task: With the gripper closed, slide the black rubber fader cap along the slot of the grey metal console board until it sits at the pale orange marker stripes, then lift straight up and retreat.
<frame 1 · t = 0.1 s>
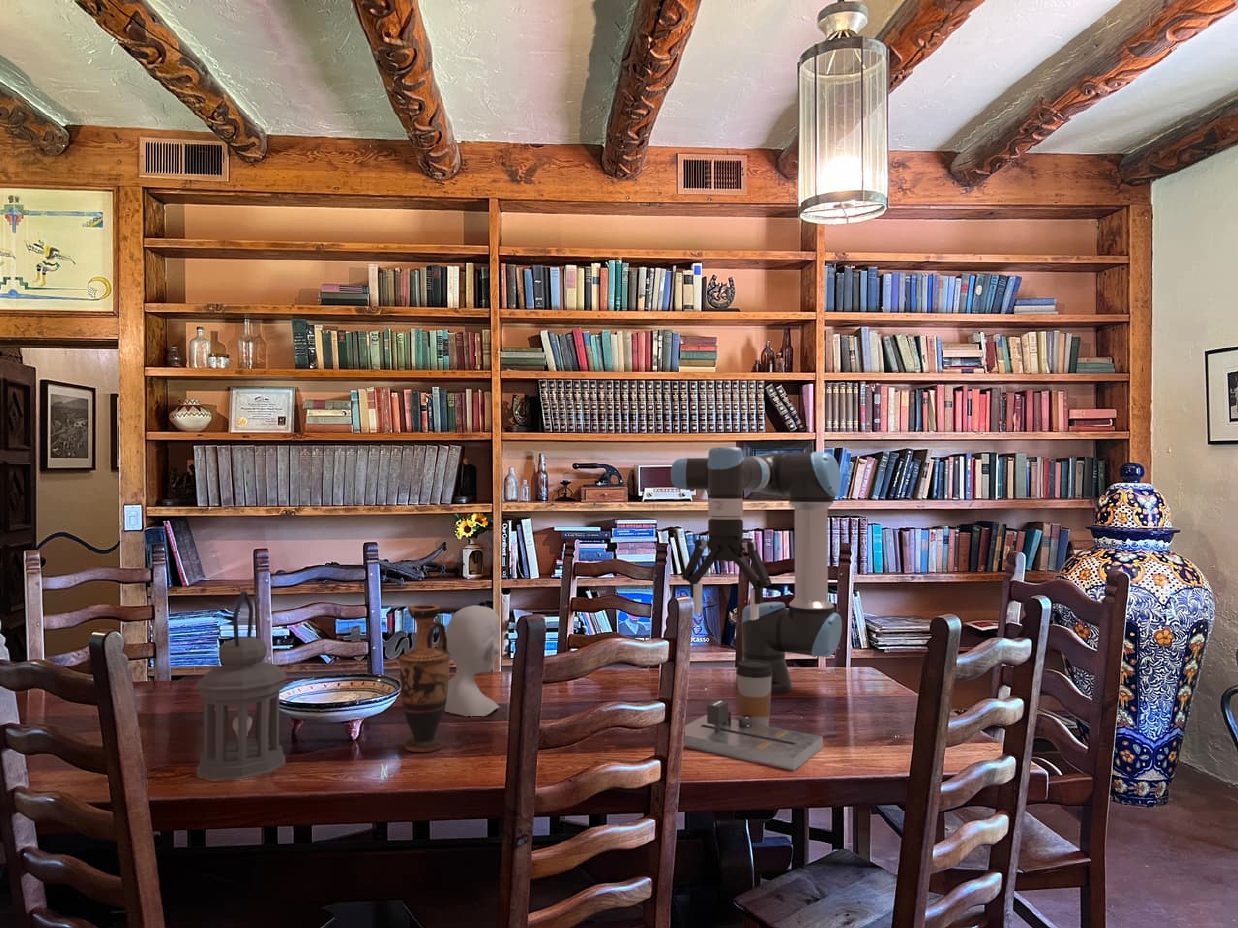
hand: (725, 616, 173), 28 cm above the table, fingers open, 13 cm apart
head bust: (472, 704, 205), on the table
lantern: (241, 767, 160), on the table
console: (746, 745, 173), on the table
fader: (717, 718, 177), point 5 cm above the table, slide at -7.0 cm
coffee cup: (754, 729, 184), on the table
vase: (424, 747, 172), on the table
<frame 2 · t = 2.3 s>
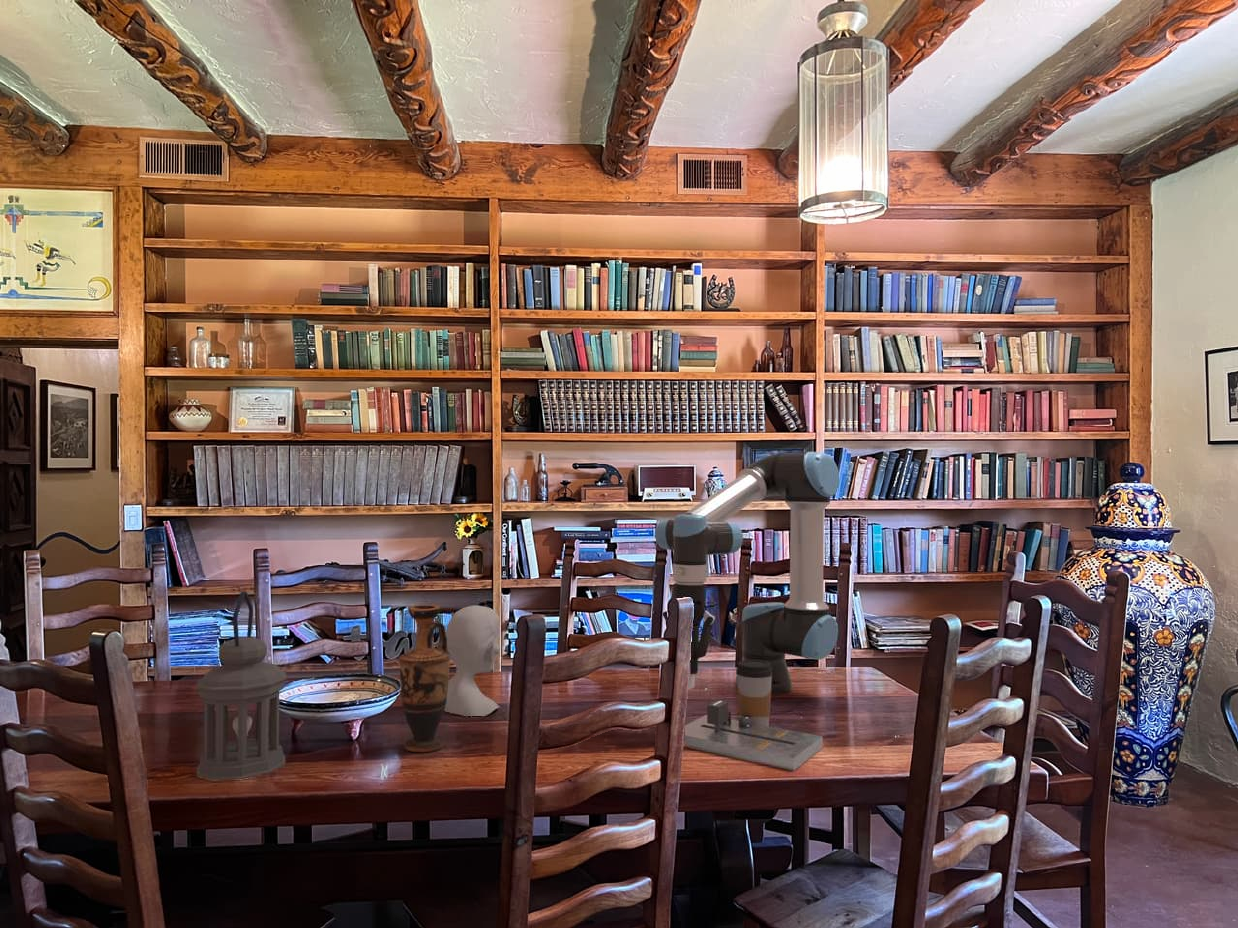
hand: (688, 687, 180), 11 cm above the table, fingers closed
nothing on the table moved.
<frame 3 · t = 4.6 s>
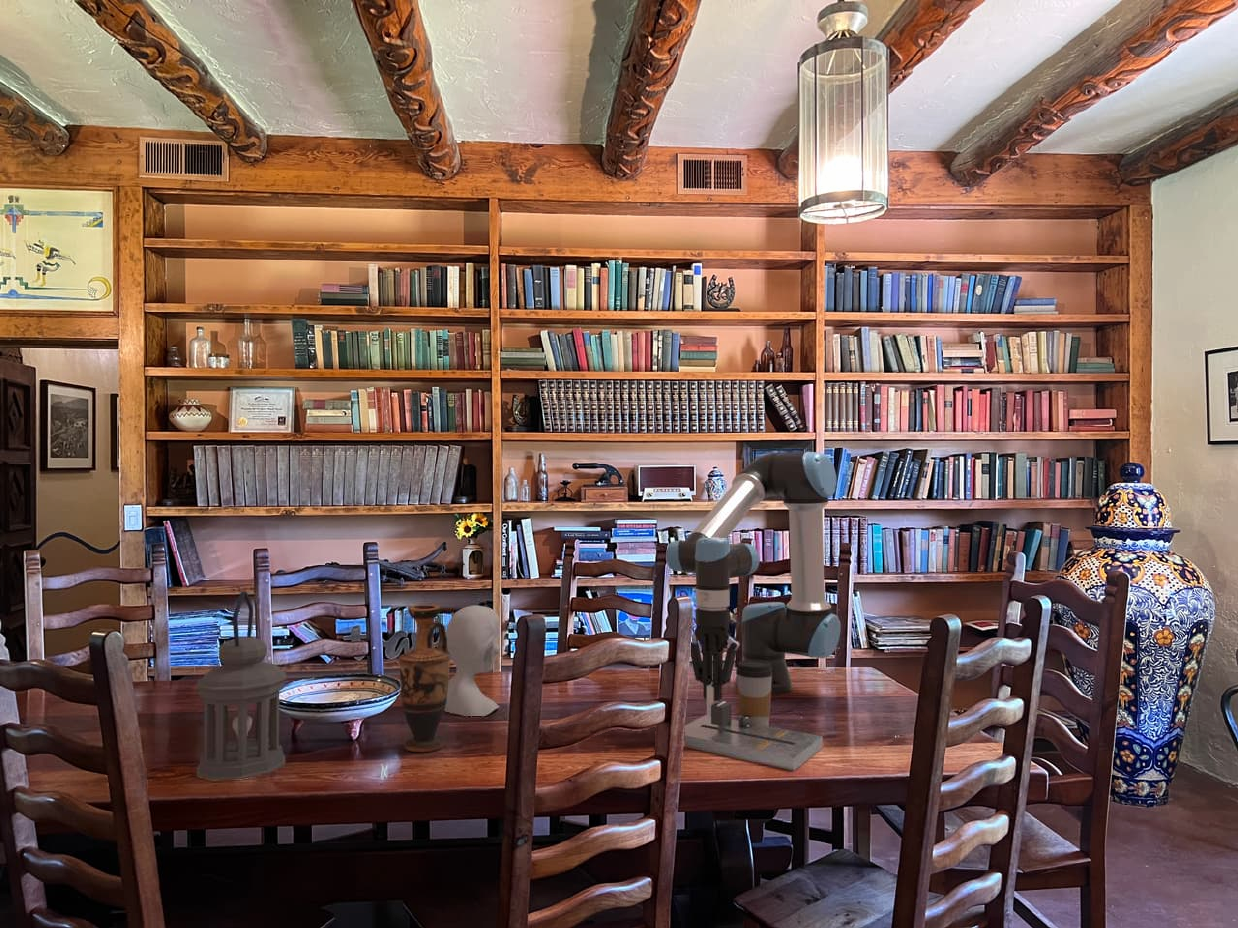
hand: (712, 714, 177), 5 cm above the table, fingers closed
fader: (721, 719, 176), point 5 cm above the table, slide at -6.1 cm, touching gripper
everything else where it was.
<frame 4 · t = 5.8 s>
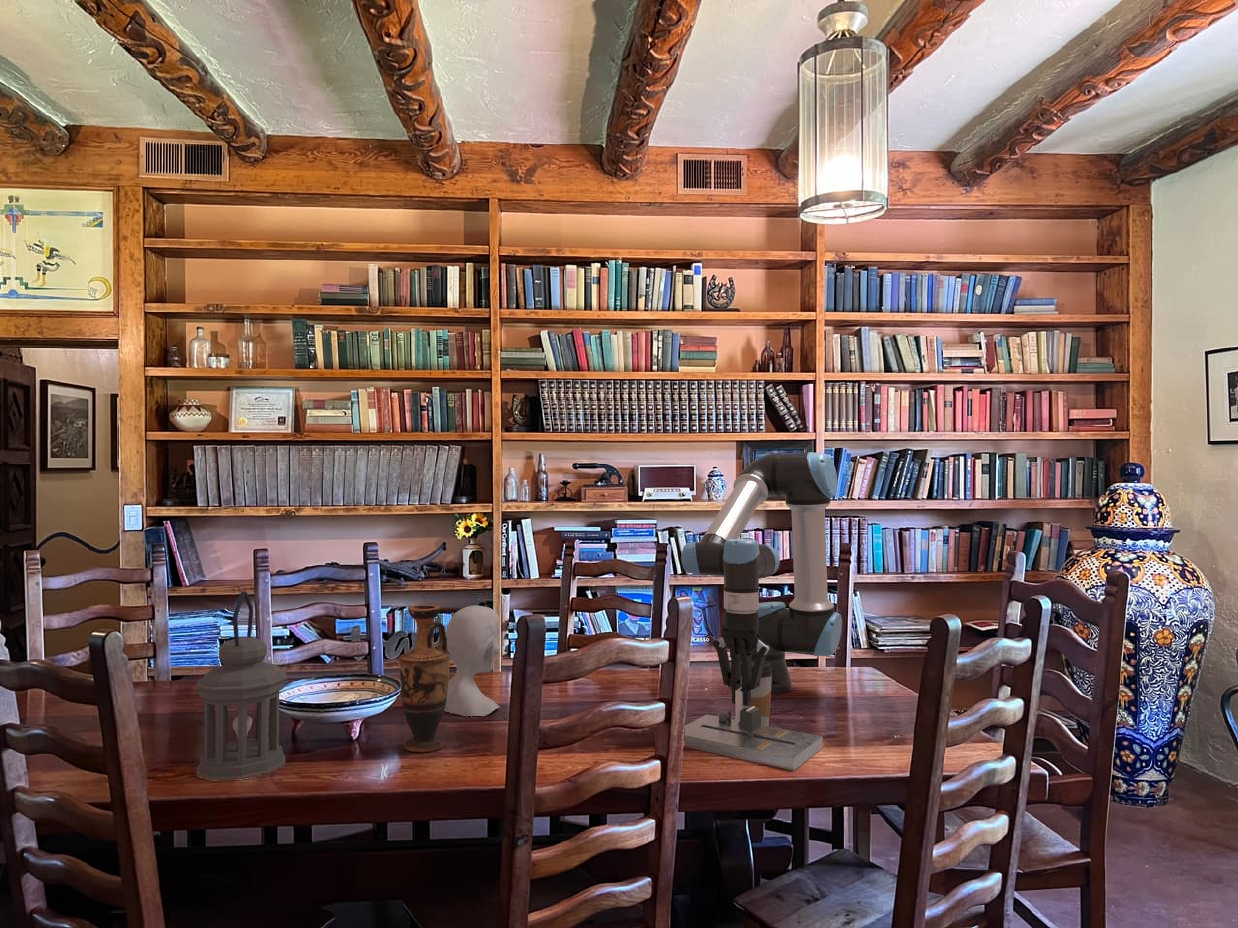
hand: (741, 719, 173), 5 cm above the table, fingers closed
fader: (750, 725, 172), point 5 cm above the table, slide at 0.9 cm, touching gripper
everything else where it was.
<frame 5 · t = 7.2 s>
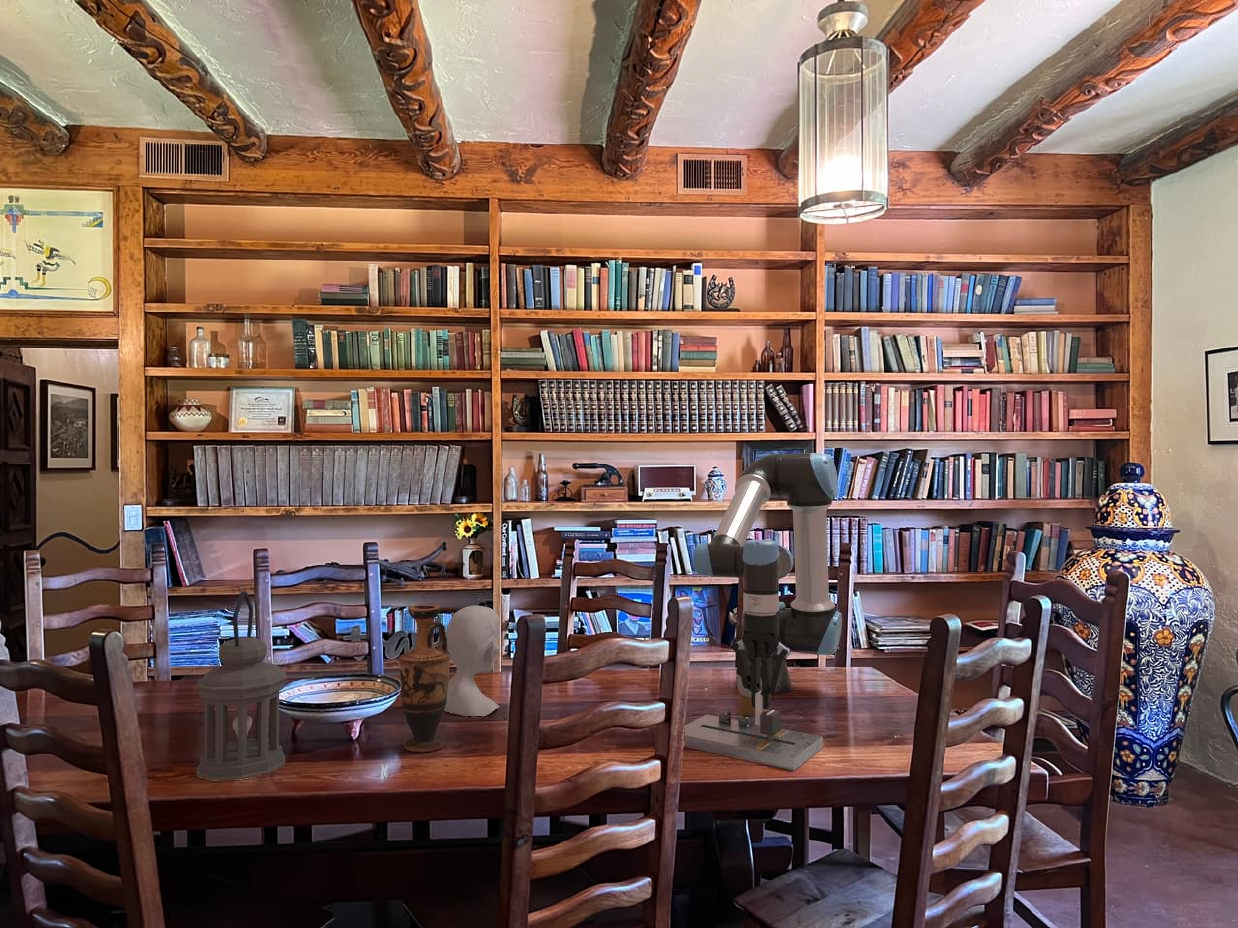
hand: (761, 723, 171), 5 cm above the table, fingers closed
fader: (770, 729, 169), point 5 cm above the table, slide at 5.6 cm, touching gripper
everything else where it was.
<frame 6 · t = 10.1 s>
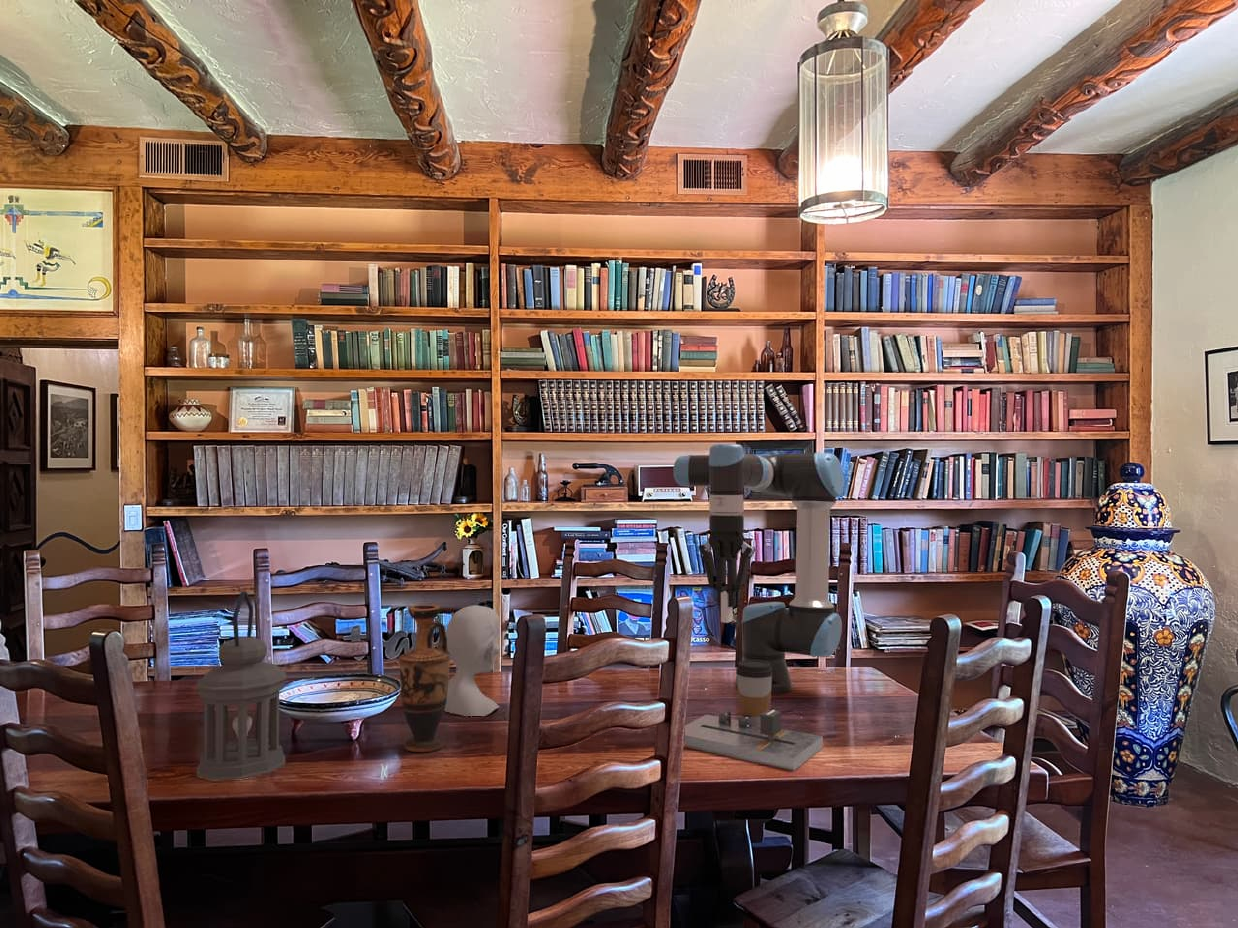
hand: (726, 621, 176), 26 cm above the table, fingers closed
fader: (770, 729, 169), point 5 cm above the table, slide at 5.6 cm
everything else where it was.
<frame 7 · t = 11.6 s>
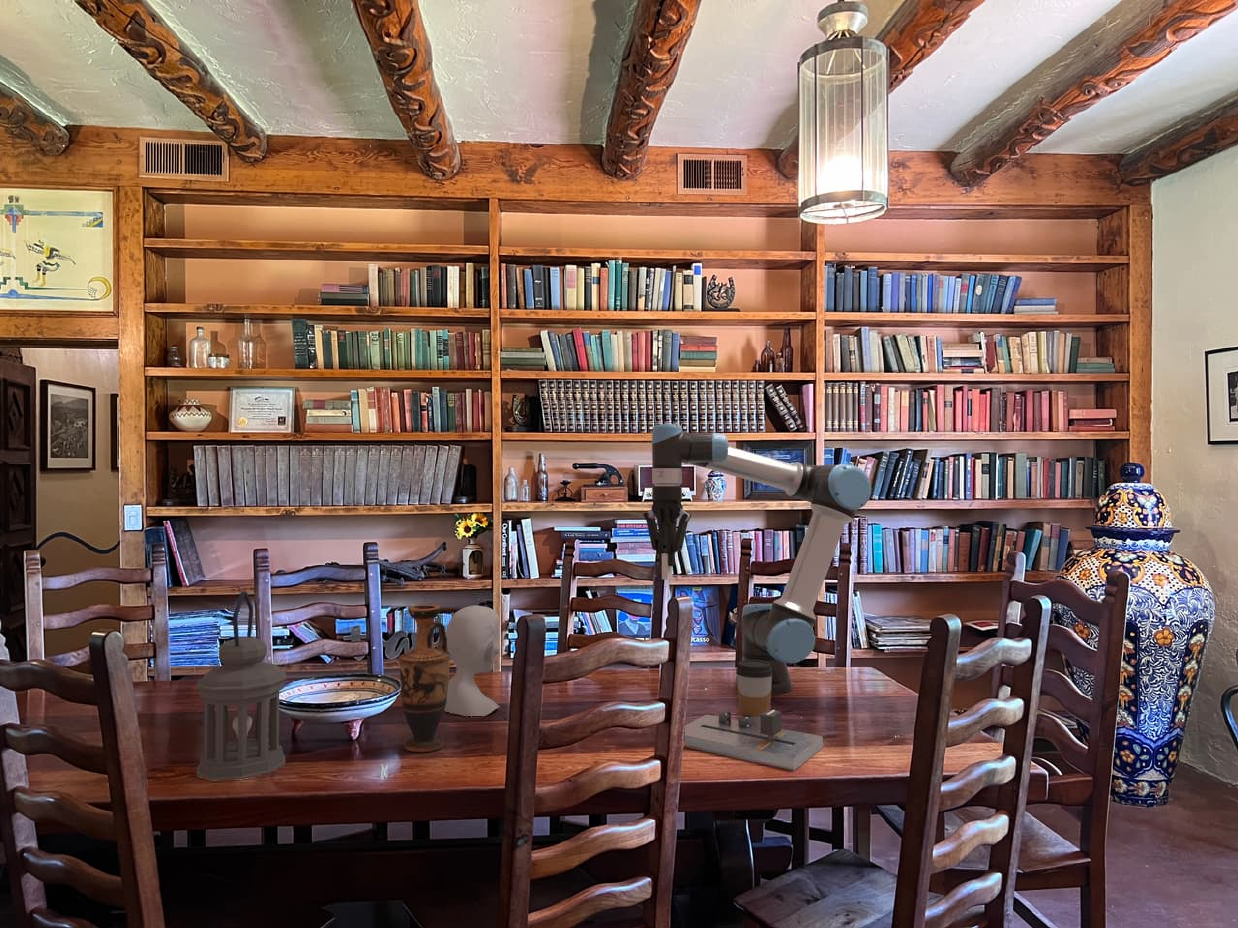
hand: (667, 578, 202), 32 cm above the table, fingers closed
nothing on the table moved.
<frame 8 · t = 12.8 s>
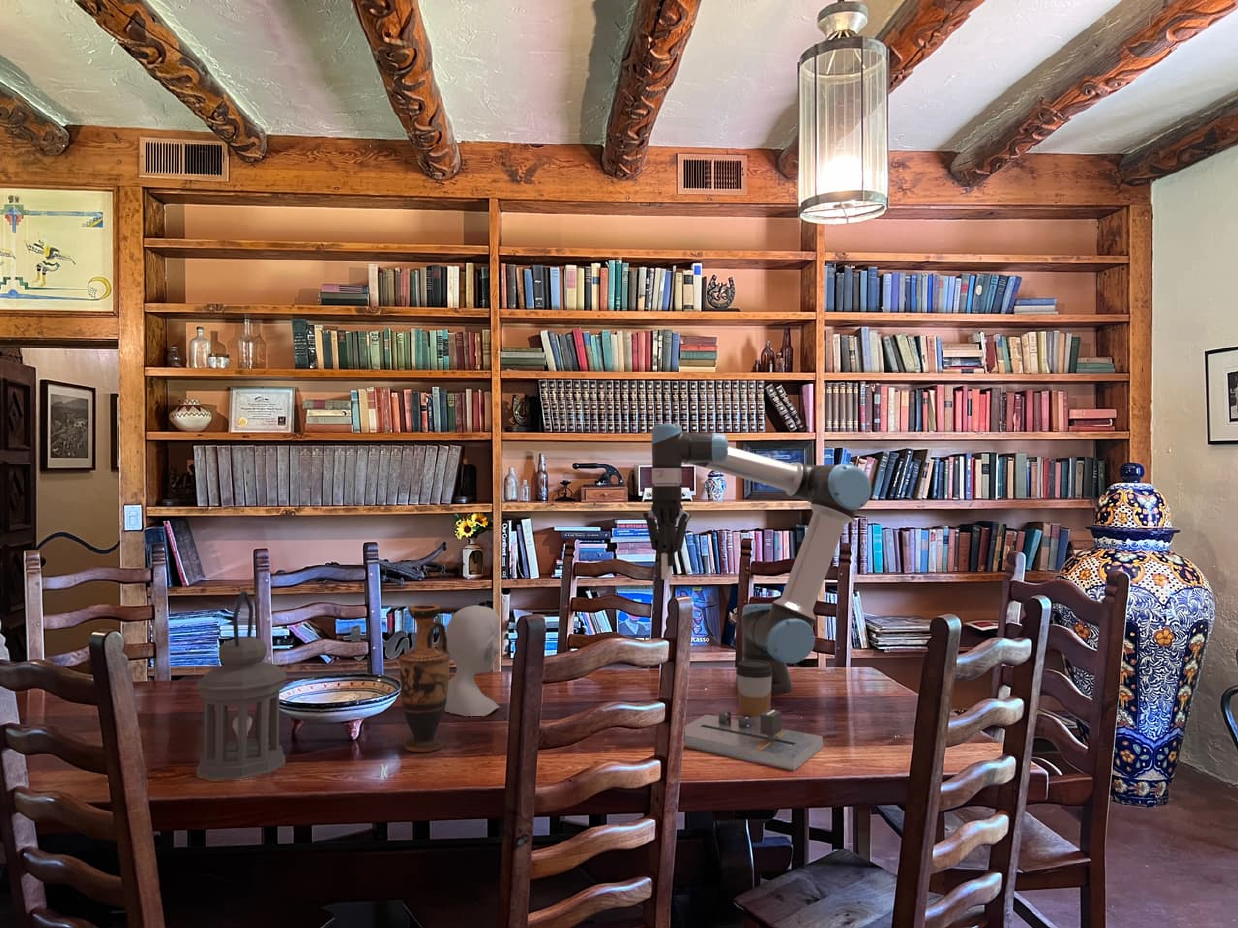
hand: (666, 578, 202), 32 cm above the table, fingers closed
nothing on the table moved.
at the end: fader slide at 5.6 cm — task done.
